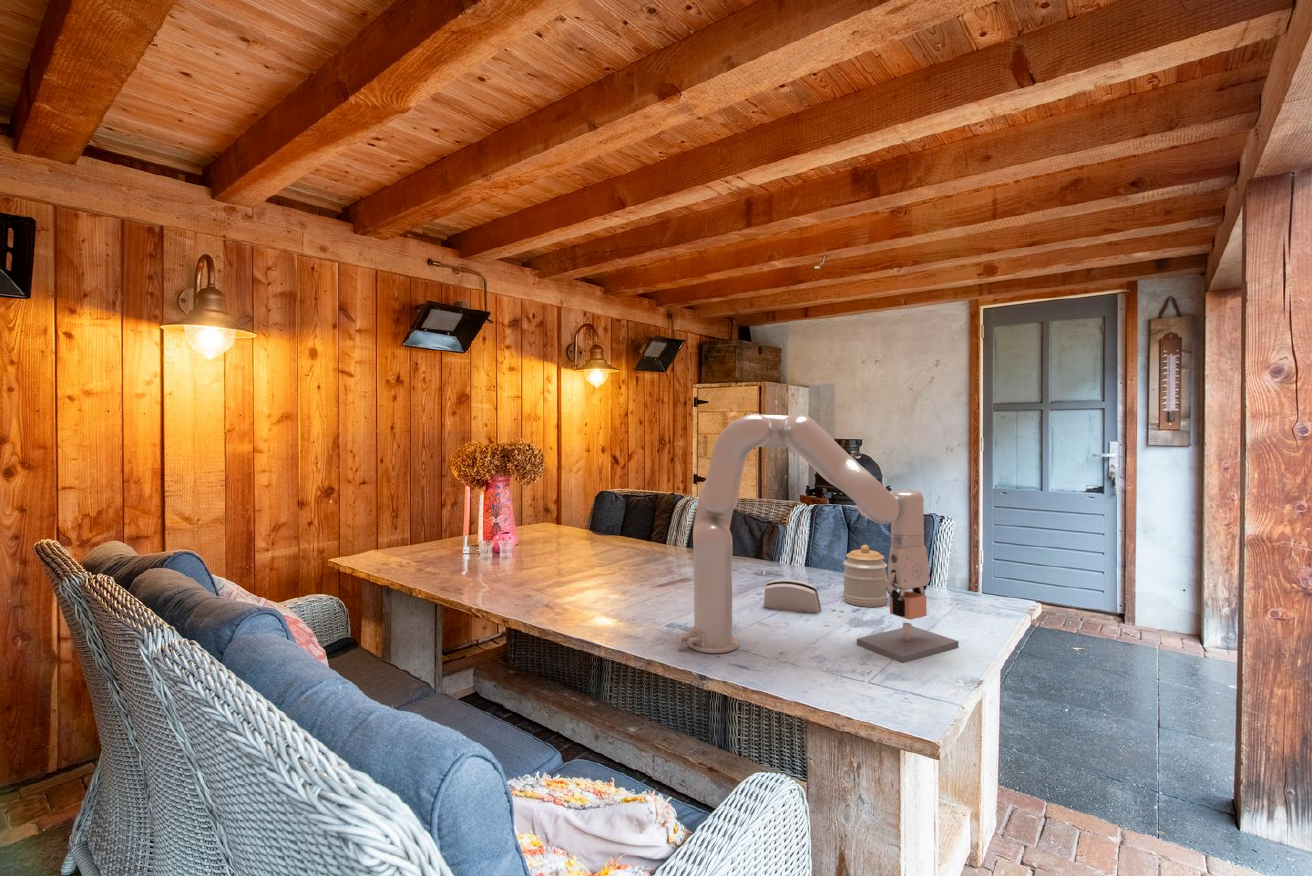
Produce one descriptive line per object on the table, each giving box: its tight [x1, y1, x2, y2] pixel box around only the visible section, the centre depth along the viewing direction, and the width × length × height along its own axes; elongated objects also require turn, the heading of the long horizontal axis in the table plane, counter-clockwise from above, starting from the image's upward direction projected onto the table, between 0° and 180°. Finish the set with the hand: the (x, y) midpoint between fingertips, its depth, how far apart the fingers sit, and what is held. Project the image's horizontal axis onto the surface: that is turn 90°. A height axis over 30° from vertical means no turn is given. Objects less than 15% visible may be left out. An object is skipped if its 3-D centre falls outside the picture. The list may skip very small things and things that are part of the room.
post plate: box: [856, 622, 959, 663], centre depth 159 cm, size 20×14×6 cm
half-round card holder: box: [763, 579, 822, 614], centre depth 191 cm, size 17×5×10 cm, turn 67°
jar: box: [842, 544, 888, 608], centre depth 198 cm, size 13×13×18 cm
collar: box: [889, 590, 927, 621], centre depth 159 cm, size 6×6×5 cm
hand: (908, 612), depth 159 cm, fingers closed on collar, 6 cm apart
